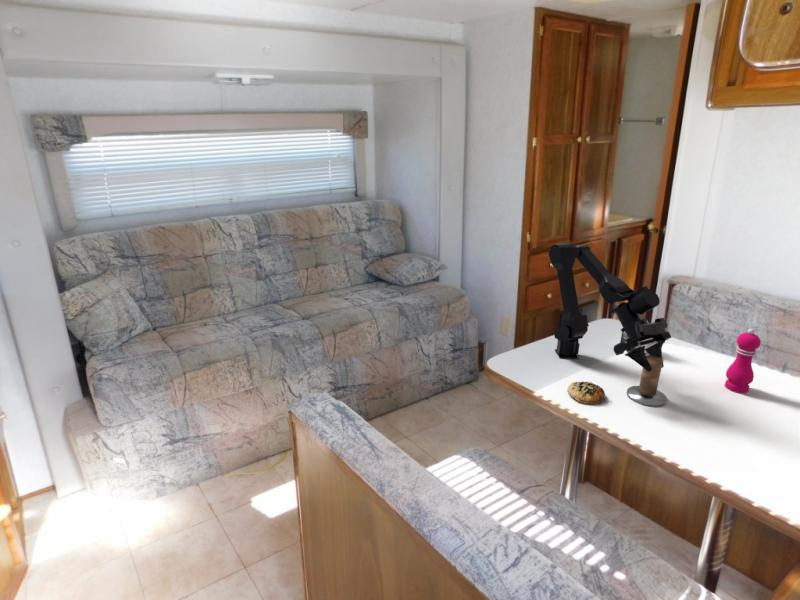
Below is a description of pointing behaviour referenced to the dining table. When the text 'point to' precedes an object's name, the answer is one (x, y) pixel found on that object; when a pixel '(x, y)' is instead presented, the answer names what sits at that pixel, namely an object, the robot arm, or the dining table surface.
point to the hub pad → (646, 397)
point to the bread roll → (586, 392)
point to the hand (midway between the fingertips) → (656, 369)
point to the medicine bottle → (625, 337)
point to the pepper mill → (742, 363)
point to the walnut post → (651, 376)
